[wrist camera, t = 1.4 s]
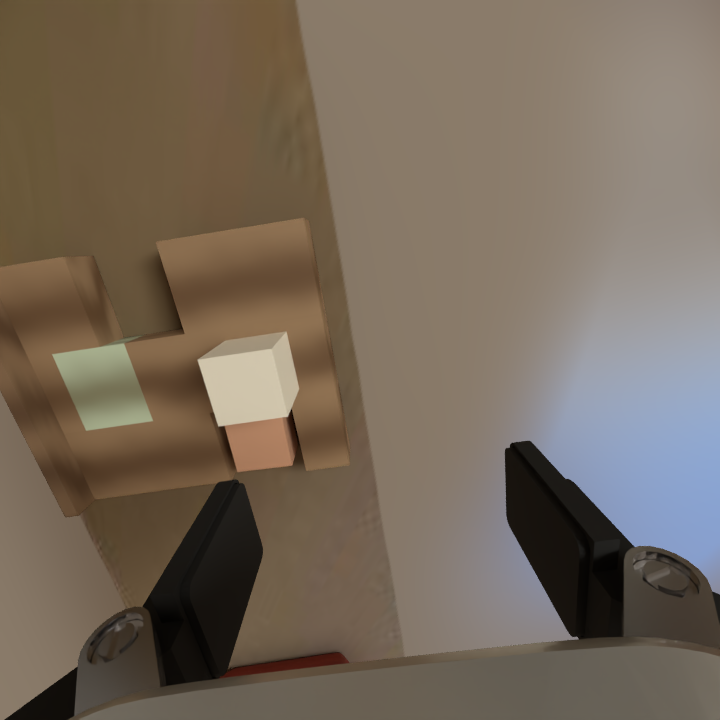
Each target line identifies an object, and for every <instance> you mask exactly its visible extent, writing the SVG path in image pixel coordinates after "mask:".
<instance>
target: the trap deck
mask: <svg viewBox="0 0 720 720" xmlns="http://www.w3.org/2000/svg"><path fill="white" fill-rule="evenodd" d="M156 245H157V248H158V251H159V254H160V257H161V261H162V264H163V267H164V270H165V273H166V276H167V280H168V283H169V286H170V289H171V292H172V295H173V299H174V302H175V305H176V308H177V311H178V314H179V317H180V321H181V324H182V327H183V329H179V330H172V331H166V332H159V333H153V334H146V335H140V336H133V337H126V338H124V337H123V334H122V331H121V329H120V326H119V323H118V321H117V318H116V315H115V312H114V310H113V307H112V304H111V302H110V299H109V296H108V294H107V291H106V288H105V286H104V283H103V280H102V278H101V275H100V272H99V270H98V267H97V264H96V262H95V259H94V256H74V257H59V258H53V259H47V260H41V261H34V262H28V263H22V264H16V265H10V266H4V267H0V391H1V393H2V395H3V397H4V399H5V401H6V403H7V405H8V407H9V409H10V411H11V413H12V414H13V416H14V418H15V420H16V422H17V424H18V426H19V428H20V430H21V432H22V434H23V436H24V438H25V440H26V442H27V444H28V446H29V448H30V449H31V452H32V453H33V455H34V457H35V459H36V461H37V463H38V465H39V467H40V469H41V471H42V473H43V475H44V477H45V478H46V481H47V483H48V485H49V487H50V489H51V490H52V492H53V494H54V496H55V498H56V500H57V502H58V504H59V506H60V508H61V510H62V512H63V514H64V516H65V517H72V516H79V515H80V514H81V513H82V512H83V511H84V510H85V509H86V508H87V507H88V506H89V505H90V504H91V503H92V502H93V501H94V500H97V499H104V498H111V497H119V496H126V495H133V494H141V493H148V492H155V491H163V490H170V489H177V488H185V487H192V486H199V485H207V484H214V483H218V482H221V481H228V480H232V479H233V477H234V475H235V473H236V471H237V469H236V465H235V462H234V458H233V454H232V451H231V447H230V444H229V440H228V437H227V433H226V430H225V426H219V427H218V424H217V421H216V418H215V414H214V411H213V408H212V405H211V401H210V398H209V395H208V392H207V389H206V385H205V382H204V379H203V376H202V373H201V369H200V366H199V363H198V359H199V358H201V357H202V356H204V355H205V354H207V353H208V352H209V351H211V350H212V349H214V348H215V347H217V346H218V345H220V344H221V343H222V342H224V341H226V340H233V339H239V338H246V337H253V336H259V335H266V334H272V333H279V332H287V336H288V341H289V345H290V350H291V354H292V359H293V363H294V368H295V372H296V377H297V381H298V386H299V391H298V393H297V396H296V398H295V401H294V403H293V406H292V412H293V416H294V421H295V425H296V429H297V433H298V438H299V442H300V446H301V451H302V455H303V459H304V463H305V468H306V471H310V470H317V469H324V468H332V467H339V466H346V465H350V443H349V438H348V432H347V427H346V421H345V416H344V410H343V405H342V399H341V394H340V388H339V383H338V378H337V372H336V367H335V361H334V356H333V350H332V345H331V339H330V334H329V328H328V323H327V317H326V312H325V306H324V301H323V295H322V290H321V284H320V279H319V273H318V268H317V262H316V257H315V251H314V246H313V240H312V235H311V230H310V224H309V221H308V220H306V219H305V218H299V219H293V220H287V221H281V222H275V223H269V224H262V225H256V226H250V227H244V228H238V229H232V230H225V231H219V232H213V233H207V234H201V235H195V236H188V237H182V238H176V239H170V240H164V241H158V242H156Z"/></svg>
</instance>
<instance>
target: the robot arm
mask: <svg viewBox="0 0 720 720" xmlns="http://www.w3.org/2000/svg"><path fill="white" fill-rule="evenodd" d="M505 472H506V515H507V520H508V524H509V526H510V528H511V530H512V532H513V534H514V535H515V537H516V539H517V541H518V542H519V544H520V546H521V548H522V550H523V551H524V553H525V555H526V557H527V559H528V560H529V562H530V564H531V566H532V568H533V570H534V571H535V573H536V575H537V577H538V579H539V580H540V582H541V584H542V586H543V587H544V589H545V591H546V593H547V595H548V597H549V598H550V600H551V602H552V604H553V605H554V607H555V609H556V611H557V613H558V615H559V616H560V618H561V620H562V622H563V624H564V625H565V627H566V629H567V631H568V632H569V634H570V635H571V636H572V637H576V636H577V637H578V638H579V640H567V641H555V642H543V643H533V644H523V645H513V646H504V647H495V648H484V649H475V650H465V651H456V652H446V653H438V654H429V655H418V656H409V657H400V658H391V659H382V660H373V661H364V662H355V663H346V664H337V665H329V666H320V667H311V668H303V669H294V670H286V671H277V672H269V673H260V674H252V675H243V676H235V677H227V678H220V676H223V675H225V673H226V671H227V669H228V666H229V662H230V659H231V656H232V653H233V650H234V646H235V643H236V640H237V637H238V633H239V630H240V627H241V624H242V621H243V617H244V614H245V611H246V608H247V605H248V601H249V598H250V595H251V592H252V588H253V585H254V582H255V579H256V576H257V572H258V569H259V566H260V563H261V559H262V555H263V547H262V543H261V539H260V536H259V533H258V529H257V526H256V522H255V519H254V516H253V512H252V509H251V506H250V502H249V499H248V496H247V492H246V489H245V486H244V484H243V483H240V484H239V481H238V480H228V481H221V482H218V483H217V485H216V486H215V488H214V490H213V491H212V493H211V495H210V496H209V498H208V500H207V501H206V503H205V505H204V506H203V508H202V510H201V511H200V513H199V515H198V516H197V518H196V520H195V521H194V523H193V524H192V526H191V528H190V529H189V531H188V532H187V534H186V536H185V537H184V539H183V541H182V542H181V544H180V546H179V547H178V549H177V551H176V552H175V554H174V556H173V557H172V559H171V560H170V562H169V564H168V565H167V567H166V569H165V570H164V572H163V574H162V575H161V577H160V579H159V580H158V582H157V584H156V585H155V587H154V589H153V590H152V592H151V594H150V595H149V597H148V599H147V600H146V602H145V603H144V605H143V607H132V608H128V609H125V610H123V611H121V612H119V613H117V614H115V615H113V616H112V617H110V618H109V619H107V620H106V621H105V622H104V623H102V625H100V626H99V627H98V628H97V629H96V630H95V631H94V632H93V633H92V635H91V636H90V637H89V638H88V640H87V641H86V643H85V644H84V646H83V648H82V650H81V652H80V656H79V659H78V667H76V668H75V669H74V670H72V671H71V672H69V673H68V674H67V675H65V676H64V677H63V678H61V679H60V680H58V681H57V682H56V683H54V684H53V685H52V686H50V687H49V688H47V689H46V690H45V691H43V692H42V693H41V694H39V695H38V696H37V697H35V698H34V699H32V700H31V701H30V702H28V703H27V704H25V705H24V706H23V707H22V708H20V709H19V710H17V711H16V712H14V713H13V714H12V715H10V716H9V717H8V718H6V719H5V720H720V595H719V594H717V593H715V592H712V590H711V587H710V584H709V582H708V580H707V578H706V577H705V576H704V575H703V574H702V572H701V571H700V570H699V569H698V568H697V567H695V566H694V565H693V564H691V563H690V562H689V561H688V560H686V559H684V558H682V557H680V556H678V555H677V554H675V553H672V552H670V551H667V550H664V549H661V548H656V547H651V546H638V547H634V546H633V545H632V544H631V543H630V542H629V541H628V540H627V538H625V536H624V535H623V534H622V533H621V532H620V531H619V530H618V529H617V528H616V527H615V526H614V525H613V524H612V522H611V521H610V520H609V519H608V518H607V517H606V516H605V515H604V514H603V513H602V512H601V511H600V510H599V509H598V508H597V507H596V506H595V504H594V503H593V502H592V501H591V500H590V499H589V498H588V497H587V496H586V495H585V494H584V493H583V492H582V491H581V490H580V488H579V487H578V486H577V485H576V484H575V483H574V482H572V481H571V480H569V479H565V478H564V477H563V476H562V475H561V474H560V473H559V472H558V470H557V469H556V468H555V467H554V466H553V465H552V464H551V463H550V462H549V461H548V460H547V458H546V457H545V456H544V455H543V454H542V453H541V452H540V451H539V450H538V449H537V448H536V446H535V445H534V444H533V443H532V442H531V441H522V442H515V443H511V444H510V448H506V449H505ZM219 678H220V679H219Z"/></svg>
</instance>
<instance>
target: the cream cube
mask: <svg viewBox="0 0 720 720" xmlns="http://www.w3.org/2000/svg"><path fill="white" fill-rule="evenodd" d="M198 363H199V366H200V369H201V373H202V376H203V379H204V382H205V385H206V389H207V392H208V395H209V398H210V401H211V405H212V408H213V411H214V414H215V418H216V421H217V424H218V427H219V426H226V425H233V424H240V423H247V422H254V421H261V420H268V419H275V418H282V417H288V415H289V413H290V410H291V408H292V406H293V403H294V401H295V398H296V396H297V393H298V391H299V386H298V381H297V377H296V372H295V368H294V363H293V359H292V354H291V350H290V345H289V341H288V336H287V332H279V333H272V334H266V335H259V336H253V337H246V338H239V339H233V340H226V341H224V342H222V343H221V344H220V345H218V346H217V347H215V348H214V349H212V350H211V351H209V352H208V353H207V354H205V355H204V356H202V357H201V358H199V359H198Z"/></svg>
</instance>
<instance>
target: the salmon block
mask: <svg viewBox="0 0 720 720" xmlns="http://www.w3.org/2000/svg"><path fill="white" fill-rule="evenodd" d="M225 430H226V433H227V437H228V440H229V444H230V447H231V451H232V454H233V458H234V462H235V465H236V469H237V472H242V471H250V470H259V469H267V468H276V467H284V466H292V465H293V461H294V458H295V454H296V451H297V447H298V442H297V438H296V433H295V428H294V423H293V419H292V414H291V410H290V413H289V415H288V417H282V418H275V419H268V420H261V421H254V422H247V423H240V424H233V425H226V426H225Z"/></svg>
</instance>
